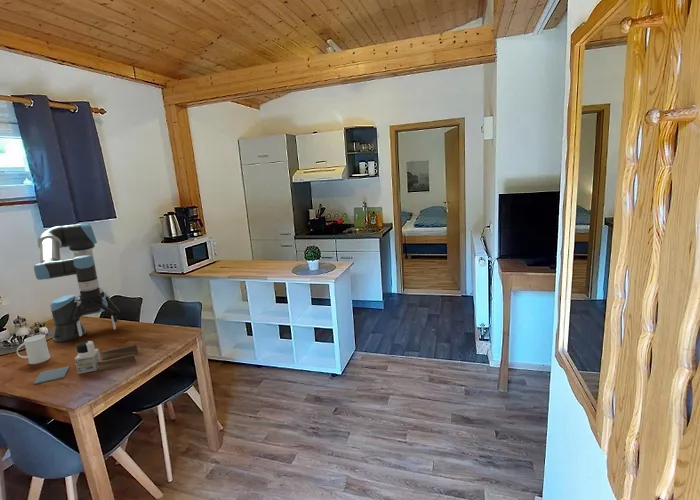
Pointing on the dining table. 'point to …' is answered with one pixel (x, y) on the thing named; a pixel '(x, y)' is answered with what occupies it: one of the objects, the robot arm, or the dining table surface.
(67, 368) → the pad
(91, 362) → the container
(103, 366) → the rack
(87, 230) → the robot arm
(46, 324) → the dining table surface
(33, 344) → the mug
